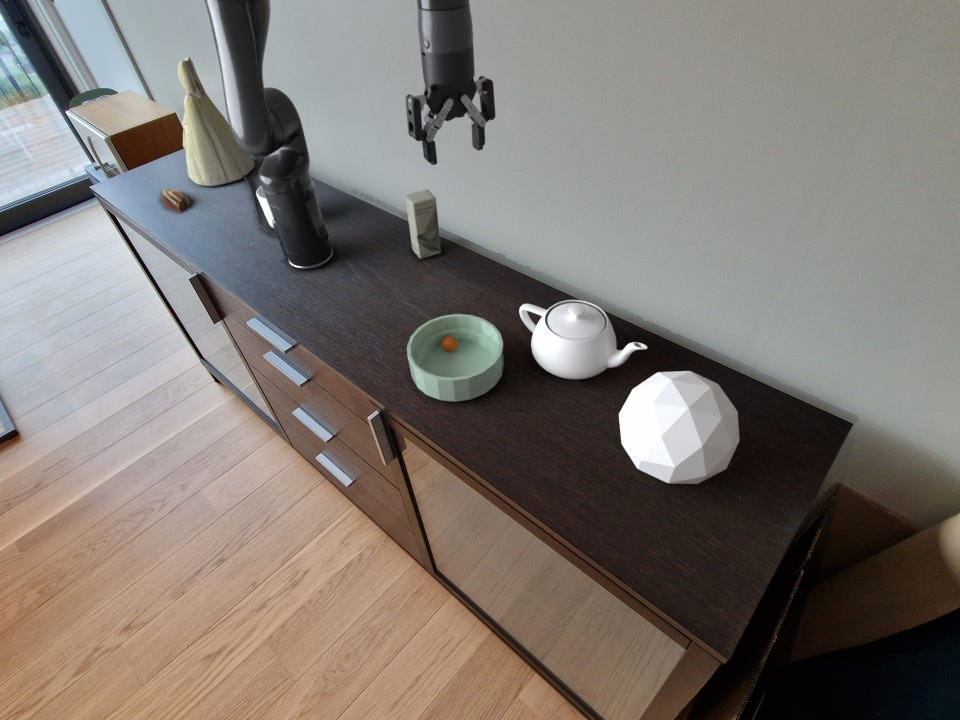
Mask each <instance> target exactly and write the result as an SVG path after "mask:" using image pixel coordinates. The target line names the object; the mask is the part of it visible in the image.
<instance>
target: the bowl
mask: <svg viewBox="0 0 960 720" xmlns="http://www.w3.org/2000/svg"><path fill="white" fill-rule="evenodd" d="M446 337H454V338H455V339H456V340H457V343H458V345H457V348H456V350H454V351H452V352H447V351H445V350H444V348H443V346H442V342H443V340H444V339H445V338H446ZM503 341H504V340H503V338H502V334H501V332H500V331H499V330H498V328H497V327H496V326H495V325H494V324H493V323H491V322H489V321H488V320H486V319H485V318H483V317H479V316H476V315H472V314H466V313H465V314H463V313H454V314H445V315H441V316H438V317H436V318H432V319H430V320H428V321H427V322H425V323H422V325H421V326H418V328H416V330H415V331H414V332H413V333H412V334H411V335H410V337H409V340H408V342H407V346H406V354H407V361H408V366H409V370H410V374H411V379H412V380H413V382H414V384H415V386H416V388H417V389H418V390H420V391H421V392H422V393H424V394H425V395H426V396H428V397H430V398H433V399H435V400H439V401H445V402H454V403H455V402H456V403H457V402H463V401H470V400H473V399H475V398H478V397H480V396H482V395H483V396H484V395H485V394H486V393H488V392H489V391H490V390H492V389H493V388H494V387H495V386H496V385H498V382H499V381H500V380H501V378H502V376H503V371H504V365H505V360H504V342H503Z"/></svg>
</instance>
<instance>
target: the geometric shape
mask: <svg viewBox="0 0 960 720" xmlns="http://www.w3.org/2000/svg"><path fill="white" fill-rule="evenodd" d="M618 420H619V421H618V422H619V430H620V440H621V442H620V443H621V445H622V447H623V449H624V450H625V452H626V453H627V455H628V456H629V458H630V459H631V461H632V463H633V464H634V466H635V468H636V469H637V470H639V471H641V472H643V473H645V474H647V475H650V476H652V477H654V478H656V479H658V480H660V481H662V482H664V483H666V484H677V485H679V484H682V485H683V484H685V485H690V484H691V485H699V484H700V483H702V482H704V481H707V480H708V479H710V478H712V477H714V476H716V475H717V474H720V473H721V472H723V471H725V470H727V468H728V466H729V464H730V463H731V460H732V458H733V457H734V453H735V452H736V450H737V447H738V445H739V443H740V428H739V412H738V410H737V409H736V407H735V406H734V404H733V403H732V401H731V400H730V399H729V397H728V395H726V393H725V392H724V390H723V389H722V388H721V385H719V383H717V382H714V381H712V380H711V379H708V378H707V377H703V376H702V375H701V374H698V373H695V372H693V371H691V370H682V371H680V370H679V371H658V372H656V373H654V374H653V375H651V376H649V378H647V379H646V380H644V381H642V382H641V383H640V384H638V385H636V386H635V387H634V388H632V389H631V392H630V393H629V395H628V396H627V399H626V401H625V402H624V404H623V405H622V407H621V410H620V411H619V413H618Z"/></svg>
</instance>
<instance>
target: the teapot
mask: <svg viewBox="0 0 960 720" xmlns="http://www.w3.org/2000/svg"><path fill="white" fill-rule="evenodd" d="M518 312H519V316H520V319H521V320H522V322H523V324H524V325H525V327H526V328H527V329H528V330H529V331H530V332H531V333H532V335H531V342H530V347H531V353H532V356H533V358H534V360H535V361H536V363H537V364H538V365H539V366H540V367H541V368H542V369H544V370H545V371H546V372H548V373H550V374H552V375H553V376H556V377H558V378H561V379H562V378H563V379H567V380H585V379H589V378H593V377H595V376H598V375H599V374H601V373H602V372H604V371H605V370H607V369H613V368H617V367H620V366H622V365H623V364H625V362H626V361H627V360H628V359H629V358H630V356H631V355H632V354H633V353H634V352H636V351H638V350H639V351H640V350H647V349H648V348H649V347H648V346H647V344H644V343H642V342H638V341H632V342H629V343H628V344H626V345H625V346H624V348H623V349H617V347H618V345H617V337H616V332H615V330H614V328H613V325H612V323H611V320H610V319H609V317H608V315H607V313H606V311H604V309H602V308H601V307H600V306H599V305H597V304H594V303H592V302H590V301H586V300H580V299H565V300H562V301H558V302H556V303H555V304H553V305H551V306H550V307H548V308H547V309H545V308H544V307H540V306H538V305H535V304H531V303H522V305H520V307H519V310H518ZM528 312H530V313H533V314H536V315H538V316H540V317H541V318H540V319H539V320H538V322H537V324H535V323H534V321H533V320H532V318H531V317H530V316H529V313H528Z"/></svg>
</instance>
